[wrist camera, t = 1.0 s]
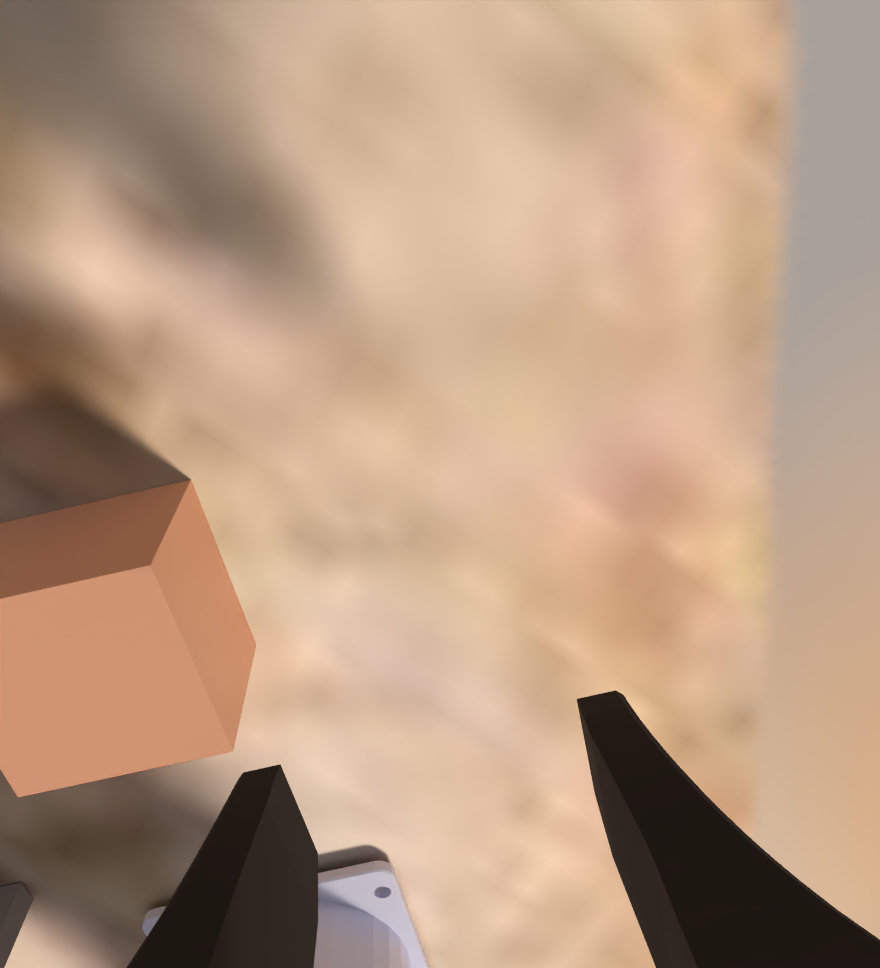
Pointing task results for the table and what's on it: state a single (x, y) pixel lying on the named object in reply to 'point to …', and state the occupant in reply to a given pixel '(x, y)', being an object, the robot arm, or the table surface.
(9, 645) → the terracotta block
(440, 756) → the table surface
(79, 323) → the table surface
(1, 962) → the box
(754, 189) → the table surface
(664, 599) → the table surface
